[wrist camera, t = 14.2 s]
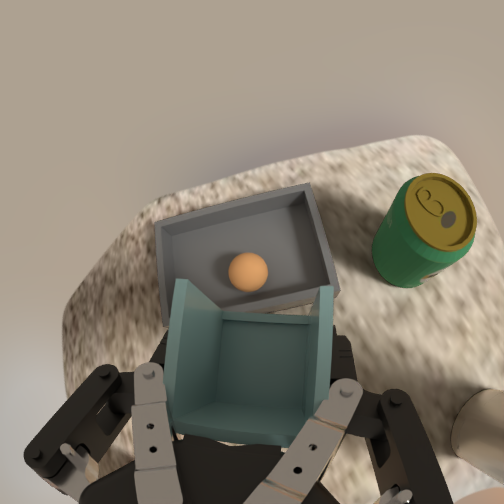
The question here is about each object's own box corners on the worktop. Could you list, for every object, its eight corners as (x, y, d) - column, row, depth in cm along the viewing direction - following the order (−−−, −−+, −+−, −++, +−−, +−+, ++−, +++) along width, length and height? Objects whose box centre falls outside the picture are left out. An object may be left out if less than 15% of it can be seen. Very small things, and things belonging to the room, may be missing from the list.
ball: (219, 253, 30) (224, 280, 32) (238, 279, 27) (241, 305, 30) (254, 239, 31) (256, 266, 34) (275, 262, 28) (275, 289, 31)
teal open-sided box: (307, 412, 16) (323, 448, 8) (212, 404, 17) (159, 429, 9) (313, 320, 18) (333, 286, 11) (221, 315, 19) (175, 278, 11)
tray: (309, 199, 35) (309, 182, 31) (336, 297, 31) (340, 290, 27) (168, 234, 37) (154, 222, 33) (178, 329, 33) (163, 326, 29)
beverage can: (402, 304, 29) (449, 279, 18) (355, 252, 32) (378, 202, 21) (444, 258, 30) (495, 217, 18) (400, 210, 32) (432, 152, 21)
